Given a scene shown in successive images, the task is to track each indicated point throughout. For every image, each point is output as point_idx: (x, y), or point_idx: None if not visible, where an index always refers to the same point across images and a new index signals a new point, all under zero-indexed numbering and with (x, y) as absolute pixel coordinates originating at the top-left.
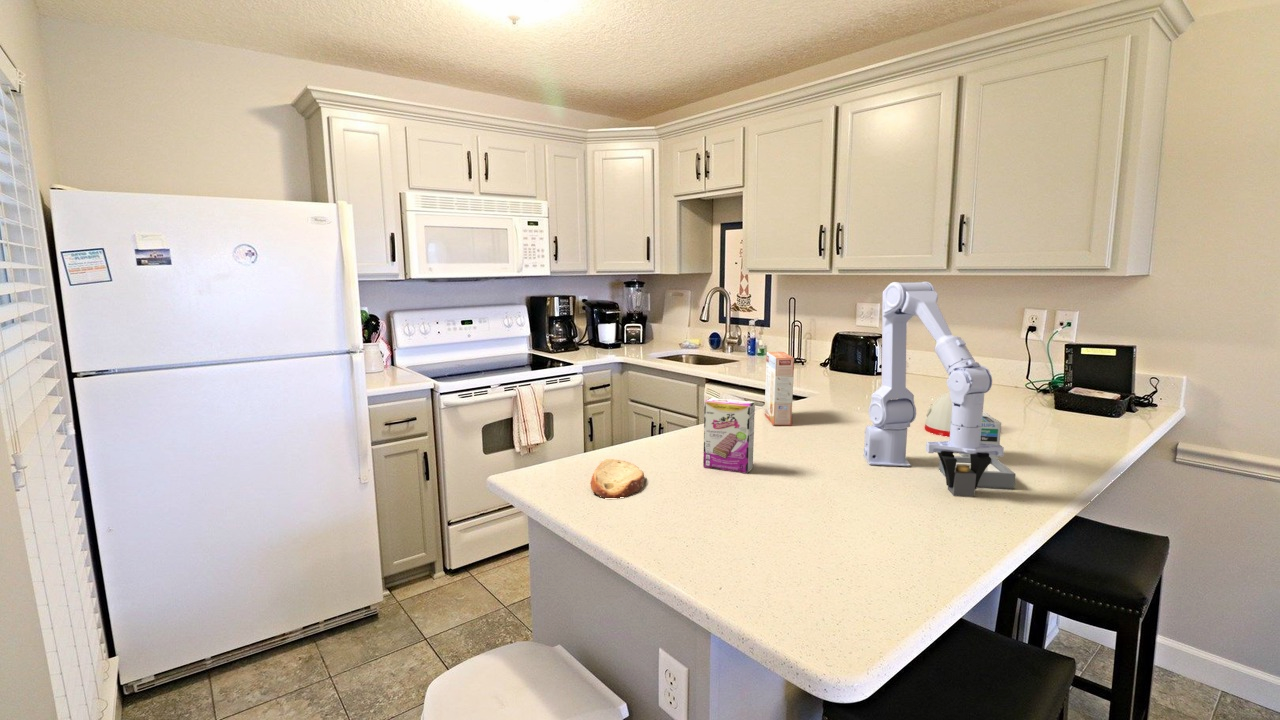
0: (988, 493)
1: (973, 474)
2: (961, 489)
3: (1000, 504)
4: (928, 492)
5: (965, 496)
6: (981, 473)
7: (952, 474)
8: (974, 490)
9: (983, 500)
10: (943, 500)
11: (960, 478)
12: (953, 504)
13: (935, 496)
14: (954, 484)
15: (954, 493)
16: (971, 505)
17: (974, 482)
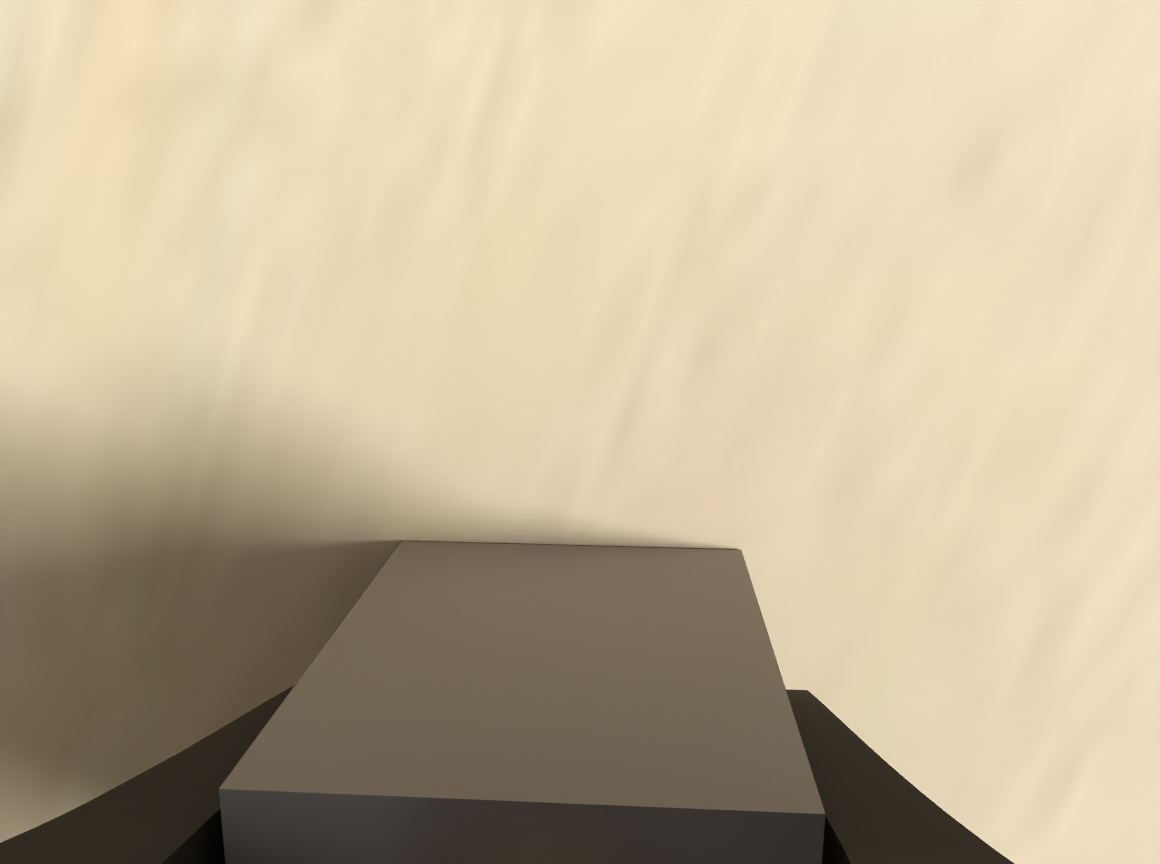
0: (122, 737)
1: (299, 786)
2: (617, 596)
3: (63, 247)
4: (1129, 674)
5: (544, 547)
6: (55, 833)
7: (873, 822)
8: (374, 587)
9: (294, 404)
10: (1018, 304)
11: (658, 718)
12: (910, 113)
13: (1084, 492)
14: (768, 654)
15: (735, 570)
16: (587, 112)
17: (333, 667)
